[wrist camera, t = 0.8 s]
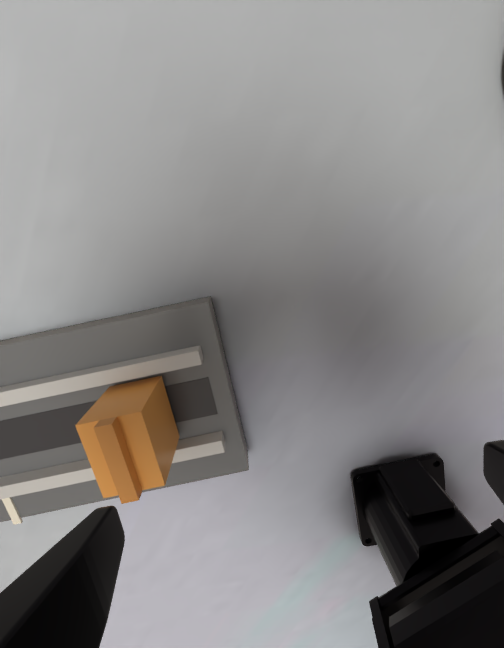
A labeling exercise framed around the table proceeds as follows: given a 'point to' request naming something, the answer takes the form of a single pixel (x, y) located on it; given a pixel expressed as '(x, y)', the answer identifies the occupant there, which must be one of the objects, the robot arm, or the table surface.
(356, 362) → the table surface
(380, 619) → the robot arm
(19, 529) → the table surface
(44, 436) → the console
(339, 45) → the table surface
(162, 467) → the fader cap
